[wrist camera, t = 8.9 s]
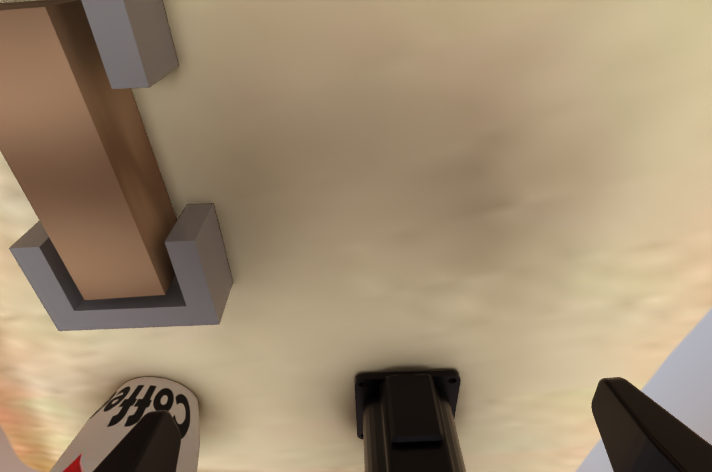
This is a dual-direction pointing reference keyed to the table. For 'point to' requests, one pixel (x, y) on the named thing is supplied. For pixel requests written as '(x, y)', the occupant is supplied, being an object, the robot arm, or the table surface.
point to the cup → (125, 414)
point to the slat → (82, 153)
